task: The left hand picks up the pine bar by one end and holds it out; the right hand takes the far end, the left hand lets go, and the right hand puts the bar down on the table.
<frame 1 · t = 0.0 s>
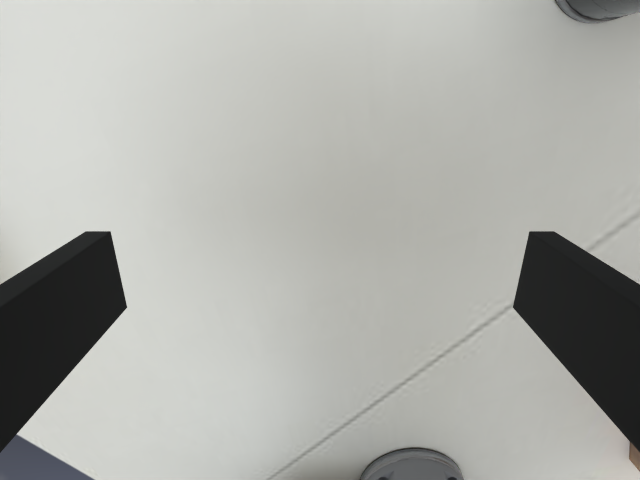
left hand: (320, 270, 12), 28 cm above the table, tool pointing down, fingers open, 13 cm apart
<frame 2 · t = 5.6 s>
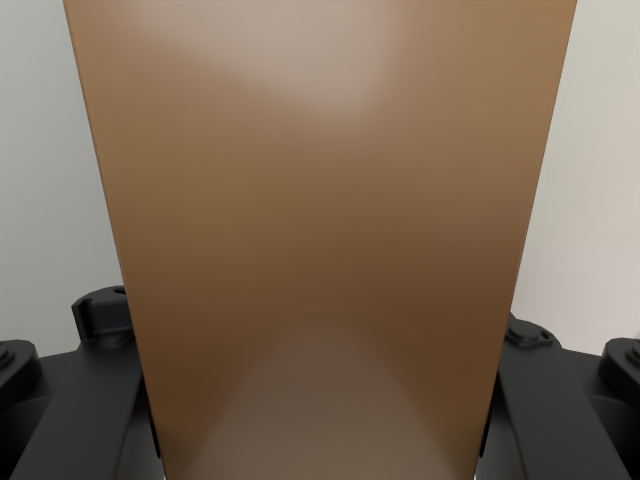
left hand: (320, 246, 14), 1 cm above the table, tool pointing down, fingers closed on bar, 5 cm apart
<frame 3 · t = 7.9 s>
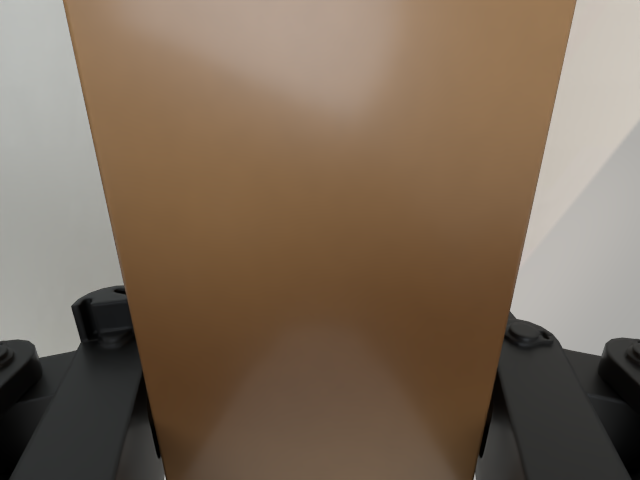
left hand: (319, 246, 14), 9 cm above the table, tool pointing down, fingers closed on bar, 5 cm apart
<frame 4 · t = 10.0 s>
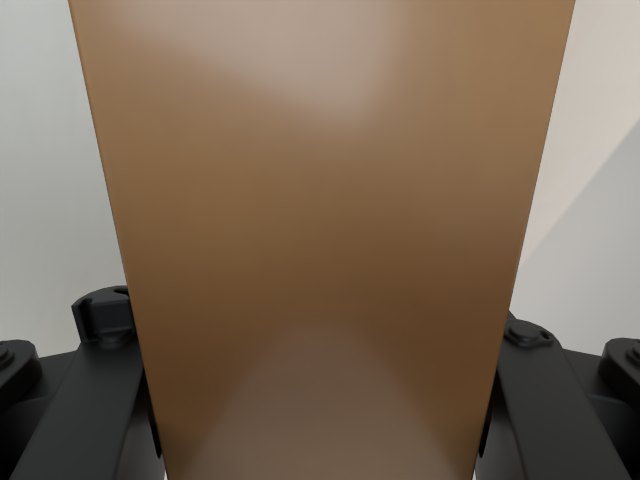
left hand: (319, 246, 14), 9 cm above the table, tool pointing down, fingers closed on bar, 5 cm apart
when the left hand's fingers open (9 cm above the table, at t = 10.7 s): bar stays where it is, held by the right hand.
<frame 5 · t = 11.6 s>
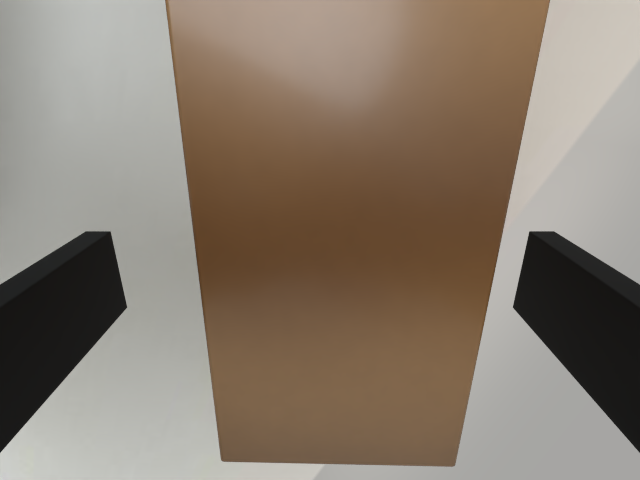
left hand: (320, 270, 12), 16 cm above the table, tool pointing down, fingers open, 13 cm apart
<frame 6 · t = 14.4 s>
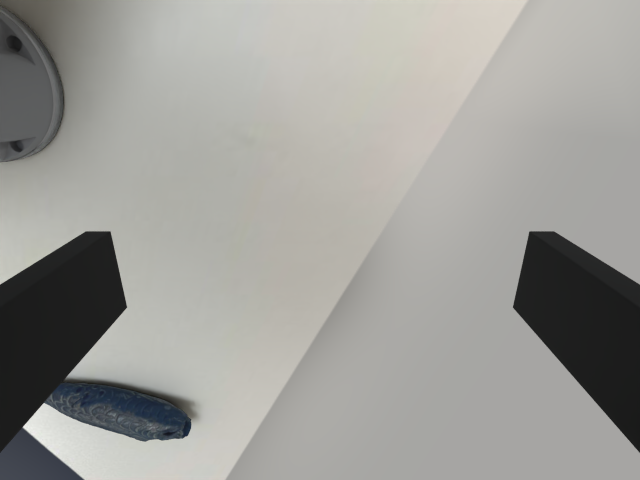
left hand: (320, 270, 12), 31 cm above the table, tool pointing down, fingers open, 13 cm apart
fish model: (121, 397, 54), on the table
when the right hand's fingers open (6 cm above the table, at t = 19.1 s): bar drops 1 cm, on the table.
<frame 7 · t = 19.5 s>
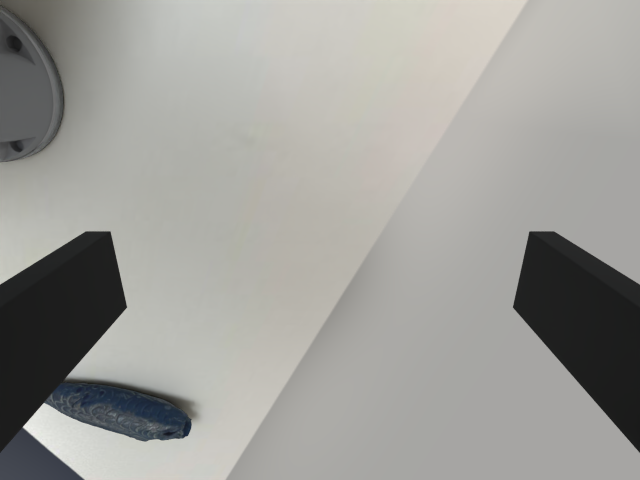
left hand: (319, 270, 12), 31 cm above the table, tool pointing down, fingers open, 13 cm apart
fish model: (121, 397, 54), on the table
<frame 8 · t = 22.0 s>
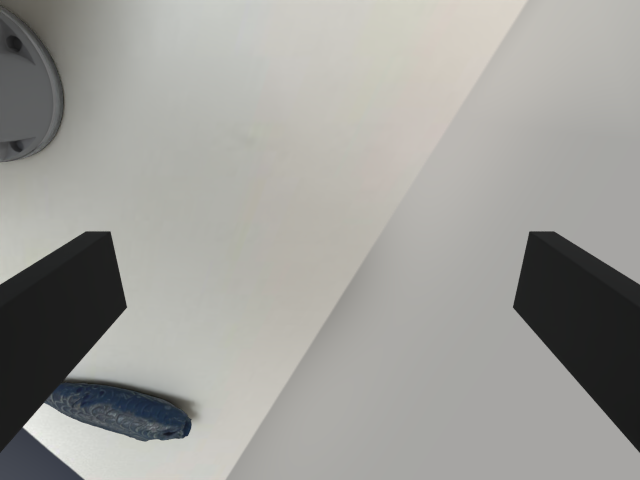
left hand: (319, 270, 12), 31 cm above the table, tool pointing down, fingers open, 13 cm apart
fish model: (121, 397, 54), on the table
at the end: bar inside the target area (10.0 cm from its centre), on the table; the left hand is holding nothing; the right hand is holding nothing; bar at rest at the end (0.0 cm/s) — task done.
